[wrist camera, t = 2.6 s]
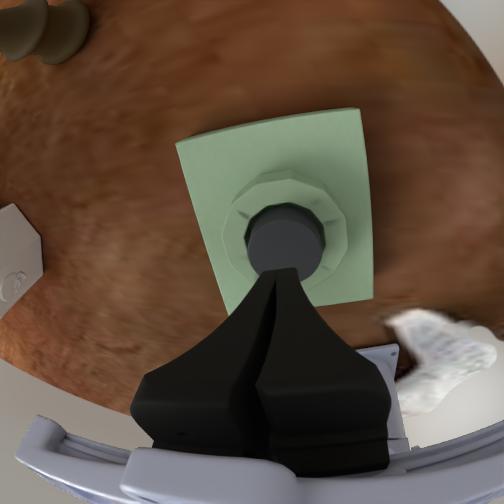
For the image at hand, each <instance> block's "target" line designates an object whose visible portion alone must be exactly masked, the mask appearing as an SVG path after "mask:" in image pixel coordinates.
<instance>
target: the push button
mask: <svg viewBox="0 0 504 504" xmlns="http://www.w3.org/2000/svg"><path fill="white" fill-rule="evenodd" d="M247 255H248V260H249V263H250V265H251V267H252V268H253V270H254V271H255V272H256V273H257V274H258V275H259V276H260V275H261V273H262V272H263V271H267V270H275V269H283V268H291V267H295V268H296V269H297V270H298V276H299V280H300V282H302V281H304V280H305V279H307V278H309V277H310V276H311V275H312V274H313V273H314V272H315V271H316V270H317V268H318V266H319V264H320V262H321V259H322V245H321V240H320V234H319V230H318V227H317V225H316V223H315V221H314V220H313V219H312V218H311V217H310V216H309V215H308V214H307V213H305V212H304V211H302V210H300V209H297V208H294V207H277V208H273V209H270V210H268V211H266V212H265V213H263V214H262V215H261V216H260V217H259V218H258V219H257V220H256V222H255V224H254V226H253V228H252V232H251V236H250V239H249V243H248V248H247Z"/></svg>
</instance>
